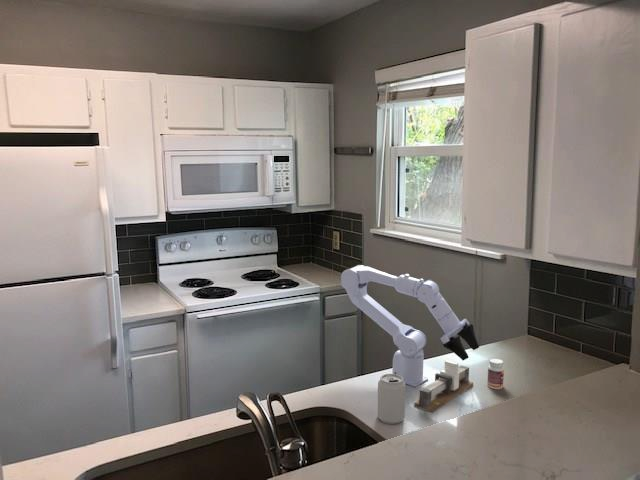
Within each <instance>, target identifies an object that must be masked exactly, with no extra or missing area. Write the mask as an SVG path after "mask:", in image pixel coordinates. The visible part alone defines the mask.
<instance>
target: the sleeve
mask: <svg viewBox="0 0 640 480" xmlns="http://www.w3.org/2000/svg"><path fill="white" fill-rule="evenodd" d="M459 366H460V365H459V363H457V362H454V361H451V360H447V359H446V360H444V368H443V369H441V370H440V373H439V374H441V375H446V376H449V377H452V385H451V390H453V391H454V390H456V389H457V388H459V372H458V367H459Z"/></svg>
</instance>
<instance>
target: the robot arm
mask: <svg viewBox="0 0 640 480" xmlns="http://www.w3.org/2000/svg"><path fill="white" fill-rule="evenodd" d="M340 275H341V276H340V283H341V284H340V286H341V287H342V288H343V289H345V292H346V293H347V295H348V297H349V299H350V300H349V301H350V302H351V303H352V304H353V305H354V306H356V307H357V308H358V309H359V310H360V311H362V313H364V314H365V315H366V316H367V317H369V318H370V319H371V320H372V321H373V322H374V323H376V324H377V325H378V326H379V327H381V328H382V329H383V330H384V331H385V332H386V333H388V334H389V335H390V336H391V337H392V340H393V344H394V345H395V346H396V347H397V348H398V350H396V351H395V352H394V354H393V358H392V373H391V374H397V375H400V376H401V377H402V378H403V381H404V382H405V384H406V385H409V386H411V387H415V388H417V386H419V385H422V384H423V383H424V382H426V381H428V380H429V377H426V376H424V357H425V355H424V353H425V352H424V349H423V348H424V347H425V346H426V344H427V336H426V335H425V333H424V332H422V331H421V330H418V329H415V328H414V327H413V326H411V325H408V324H405V323H403V322H401V321H400V320H399V319H398V318H397V317H396V316H394V315H393V314H392V313H391V312H389V311H388V310H387V309H386V308H385V307H383V306H382V305H381V304H380V303H379V302H377V301H376V300H375V299H373V297H371V296H370V295H369V294H368V290H367V289H368V283H369V282H374V283H378V284H381V285H385V286H390V287H394V289H395V290H396V292H398V293H400V294H403V295H407V296H410V297H413V298H417V300H418V301H419V302H421V303H423V304H425V306H426V308H427V309H428V310H429V312H430V313H431V314H432V316H433V317H434V319H435V320H436V323H438V324H439V326H440V328H441V329H442V331H443V332H444V334H443V335H442V337H440V340H441V342H442V346H443V347H444V348H445V349H447V350H449V351H451V352H452V353H454V355H456V356H457V357H459V359H461V360H462V361H465V360H467V359H468V358H470V357H469V354H468V353H467V351H466V349H465V347H464V346H463V344H462V340H461V339H463V340H464V341H465V342H466V344H467V345H468V346H469V347H470V349H472V350H473V351H475V350H477V349H479V348H480V344H479V342H478V340H477V337H476V335H475V331H474V330H475V329H474V324H473V323H470V322H469V321H468V320H467V318H464V319H462V320H459V318H458V316H457V315H456V314H455V312H454V311H453V309H452V308H451V307H450V305H449V304H448V302H447V300H446V299H445V298H444V297H443V295H442V294H441V293H440V286H439V285H438V284H437V283H436V282H435V281H433V280H432V279H428V280H424V278H419V279H418V278H415V277H411V275H410V274H409V273H406V274H401V275H399V276H397V275H392V274H389V273H387V272H384V271H381V270H378V269H376V268H373V267H371V266H367V265H366V266H365V265H363V264H357V265H356V266H353V267H350V268H347V269H345V270H343V272H342V273H341V274H340ZM456 335H457V336H456ZM455 336H456V337H455Z"/></svg>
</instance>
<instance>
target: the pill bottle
mask: <svg viewBox="0 0 640 480" xmlns="http://www.w3.org/2000/svg"><path fill="white" fill-rule="evenodd" d="M504 372H505V367H504V361H503V360H502V359H498V358H491V359H490V360H489V365H488V368H487V381H486V382H487V383H486V384H487V387H488V388H490V389H494V390H500V389H503V387H504V376H505V373H504Z"/></svg>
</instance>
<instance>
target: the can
mask: <svg viewBox="0 0 640 480" xmlns="http://www.w3.org/2000/svg"><path fill="white" fill-rule="evenodd" d="M406 385H407V384H405V382H404V381H403V378H402V377H401V376H400V375H397V374H392V373H386V374H382V375H381V376H380V379H378V381H377V409H376V410H377V412H376V415H377V418H378V419H379V420H380V421H381V422H383V423H386V424H389V425H394V424H395V425H397V424H399V423H401V422H402V421H403V420H404V419H405V417H406V416H405V415H406V387H407V386H406Z"/></svg>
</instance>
